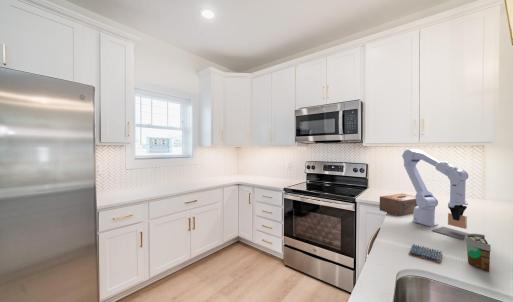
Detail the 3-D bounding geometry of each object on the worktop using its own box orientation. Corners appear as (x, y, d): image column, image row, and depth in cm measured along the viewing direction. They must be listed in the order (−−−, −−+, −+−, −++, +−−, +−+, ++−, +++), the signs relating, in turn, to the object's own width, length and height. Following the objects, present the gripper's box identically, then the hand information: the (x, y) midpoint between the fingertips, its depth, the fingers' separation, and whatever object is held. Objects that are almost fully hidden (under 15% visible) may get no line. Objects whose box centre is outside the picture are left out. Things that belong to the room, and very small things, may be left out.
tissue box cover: (400, 216, 139) (401, 201, 139) (379, 210, 152) (379, 196, 152) (423, 211, 151) (423, 197, 151) (401, 206, 164) (401, 193, 164)
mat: (432, 231, 114) (432, 230, 114) (443, 227, 120) (443, 226, 120) (461, 239, 104) (461, 238, 104) (472, 235, 109) (472, 234, 109)
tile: (447, 224, 114) (448, 213, 114) (449, 224, 115) (449, 212, 115) (465, 228, 108) (465, 216, 108) (466, 228, 109) (467, 216, 109)
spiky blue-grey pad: (443, 255, 89) (443, 250, 89) (441, 265, 81) (441, 260, 81) (411, 247, 96) (412, 242, 96) (407, 256, 88) (407, 251, 88)
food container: (462, 255, 89) (462, 230, 88) (483, 260, 85) (484, 234, 85) (465, 267, 79) (466, 240, 79) (490, 274, 75) (490, 245, 75)
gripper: (460, 196, 105) (460, 224, 105) (474, 193, 111) (473, 219, 111) (443, 193, 111) (442, 219, 111) (456, 191, 118) (456, 216, 118)
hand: (457, 219), depth 112 cm, fingers closed on tile, 2 cm apart
